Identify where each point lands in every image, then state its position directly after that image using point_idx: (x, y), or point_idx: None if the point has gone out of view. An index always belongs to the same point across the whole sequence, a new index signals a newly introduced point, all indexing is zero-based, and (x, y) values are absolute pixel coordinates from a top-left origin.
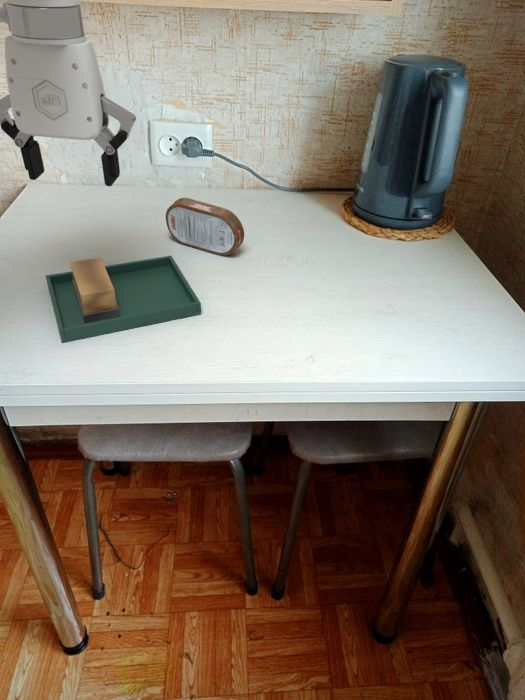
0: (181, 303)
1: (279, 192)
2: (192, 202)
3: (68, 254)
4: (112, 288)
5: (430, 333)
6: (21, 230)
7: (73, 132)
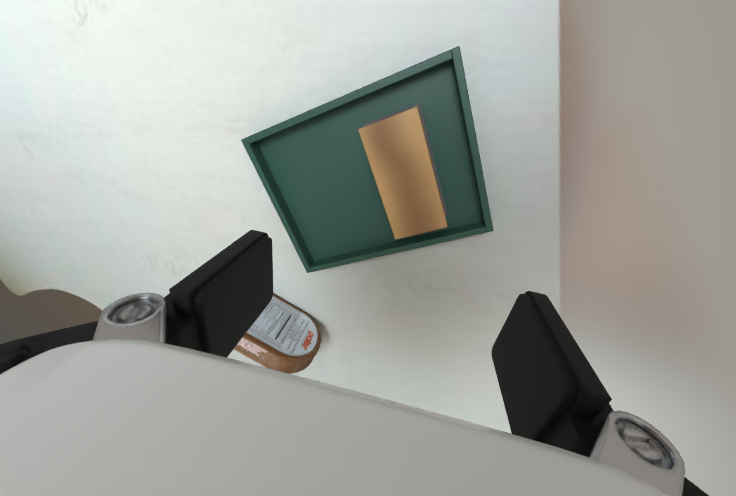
0: (280, 160)
1: None
2: (263, 358)
3: (462, 305)
4: (361, 132)
5: None
6: None
7: (196, 396)
